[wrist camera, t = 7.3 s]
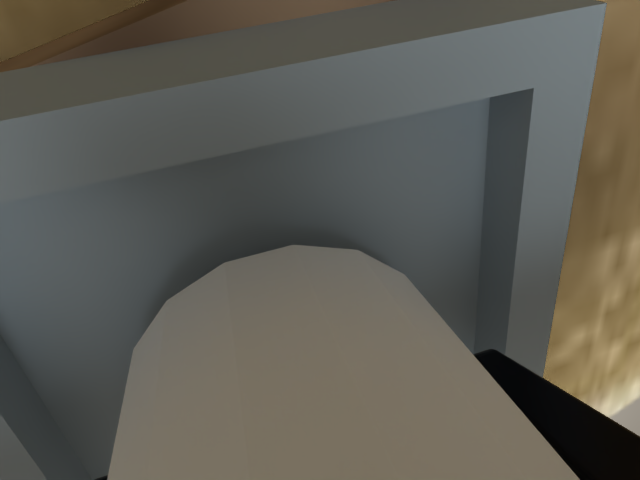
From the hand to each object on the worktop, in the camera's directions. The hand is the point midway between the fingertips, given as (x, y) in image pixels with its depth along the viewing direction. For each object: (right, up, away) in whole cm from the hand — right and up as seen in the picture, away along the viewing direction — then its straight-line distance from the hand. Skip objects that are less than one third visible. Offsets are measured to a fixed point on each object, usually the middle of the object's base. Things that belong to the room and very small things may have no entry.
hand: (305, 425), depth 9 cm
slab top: (-1, +2, +3) cm, 4 cm away
